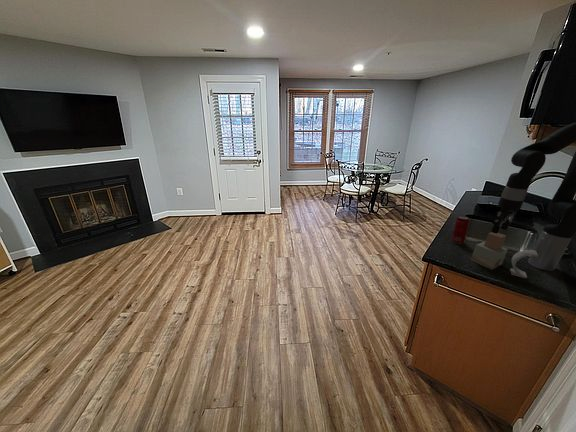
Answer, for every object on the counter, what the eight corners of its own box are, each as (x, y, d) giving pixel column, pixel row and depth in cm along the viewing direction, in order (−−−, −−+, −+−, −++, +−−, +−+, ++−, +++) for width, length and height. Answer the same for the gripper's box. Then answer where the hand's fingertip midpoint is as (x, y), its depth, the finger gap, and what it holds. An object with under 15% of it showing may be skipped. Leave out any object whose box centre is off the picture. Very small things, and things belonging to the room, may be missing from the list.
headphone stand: (526, 278, 103) (538, 255, 98) (508, 273, 106) (519, 250, 101) (524, 273, 106) (535, 250, 102) (507, 268, 109) (517, 246, 105)
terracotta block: (488, 243, 114) (493, 231, 111) (501, 247, 110) (506, 235, 107) (483, 245, 112) (488, 233, 109) (496, 250, 108) (501, 237, 105)
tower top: (482, 248, 118) (485, 240, 116) (504, 257, 111) (508, 249, 109) (473, 252, 114) (476, 244, 112) (494, 262, 107) (498, 253, 105)
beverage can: (465, 244, 130) (474, 220, 125) (452, 243, 131) (460, 218, 126) (460, 239, 136) (468, 215, 130) (448, 238, 137) (455, 214, 131)
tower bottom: (480, 256, 120) (483, 248, 118) (501, 265, 112) (504, 257, 111) (470, 260, 116) (473, 252, 114) (491, 270, 108) (494, 261, 107)
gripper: (515, 202, 95) (501, 237, 102) (531, 197, 101) (516, 231, 108) (493, 197, 102) (481, 230, 108) (509, 193, 108) (497, 225, 114)
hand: (499, 231), depth 108 cm, fingers open, 8 cm apart
